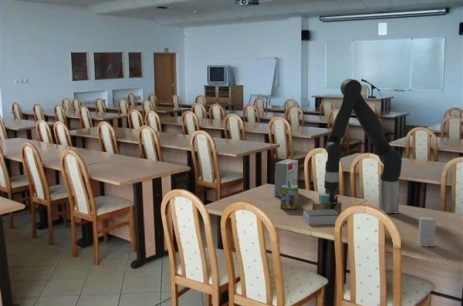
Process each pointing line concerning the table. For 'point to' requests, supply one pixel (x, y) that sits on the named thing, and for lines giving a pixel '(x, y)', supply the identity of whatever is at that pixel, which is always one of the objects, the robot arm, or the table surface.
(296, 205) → the chalk box
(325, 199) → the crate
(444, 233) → the table surface
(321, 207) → the brown wooden block
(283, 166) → the hard drive box
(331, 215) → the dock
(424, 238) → the skincare box
